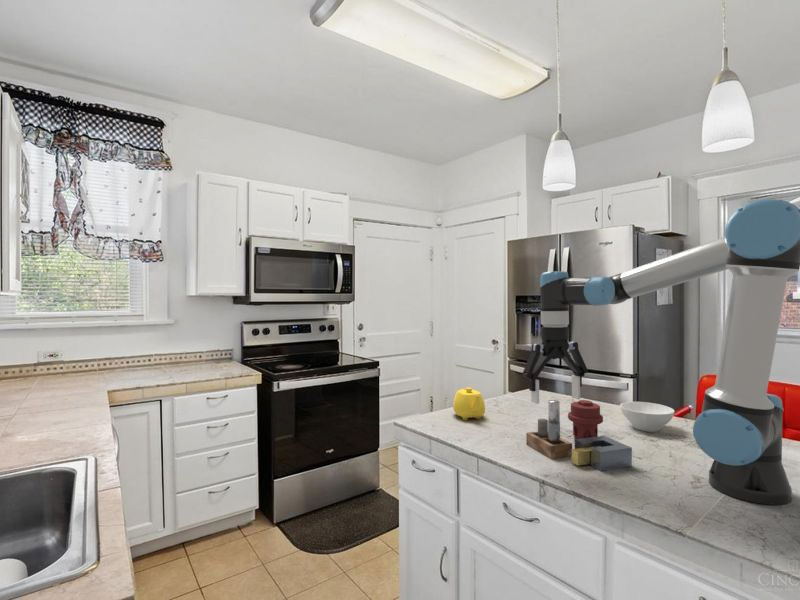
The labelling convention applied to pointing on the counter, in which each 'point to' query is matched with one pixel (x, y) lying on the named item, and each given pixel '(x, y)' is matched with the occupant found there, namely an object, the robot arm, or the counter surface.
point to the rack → (543, 446)
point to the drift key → (581, 456)
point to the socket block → (606, 452)
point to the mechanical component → (585, 419)
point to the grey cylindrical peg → (554, 422)
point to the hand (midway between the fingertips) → (556, 400)
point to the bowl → (647, 415)
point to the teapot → (469, 404)
